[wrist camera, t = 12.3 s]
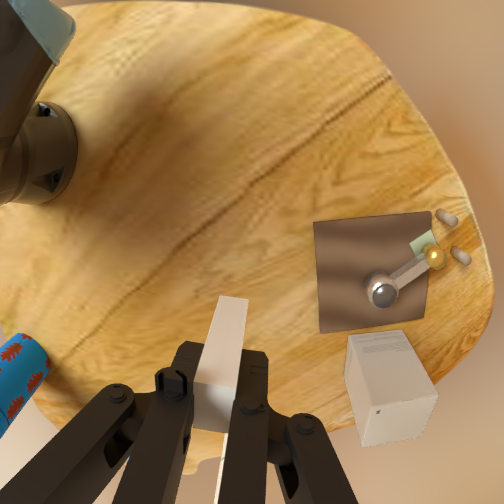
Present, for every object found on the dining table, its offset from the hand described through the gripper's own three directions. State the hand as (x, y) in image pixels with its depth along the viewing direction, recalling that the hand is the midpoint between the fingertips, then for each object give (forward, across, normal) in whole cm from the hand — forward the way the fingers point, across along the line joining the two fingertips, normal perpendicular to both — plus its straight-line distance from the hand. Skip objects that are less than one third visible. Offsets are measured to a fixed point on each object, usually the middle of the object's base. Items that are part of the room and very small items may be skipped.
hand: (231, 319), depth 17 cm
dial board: (+24, +20, -5) cm, 32 cm away
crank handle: (+23, +20, -4) cm, 31 cm away
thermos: (+25, -42, -34) cm, 59 cm away
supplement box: (+25, +21, -19) cm, 38 cm away
